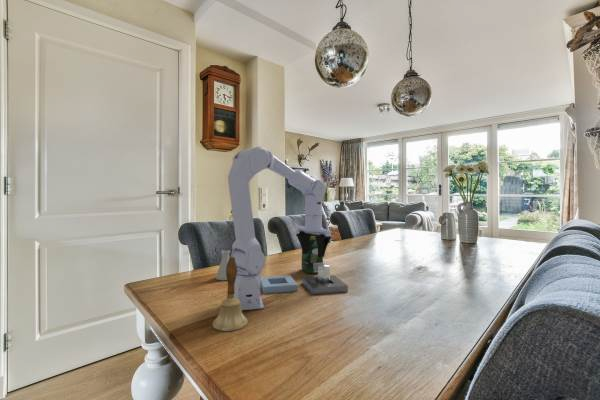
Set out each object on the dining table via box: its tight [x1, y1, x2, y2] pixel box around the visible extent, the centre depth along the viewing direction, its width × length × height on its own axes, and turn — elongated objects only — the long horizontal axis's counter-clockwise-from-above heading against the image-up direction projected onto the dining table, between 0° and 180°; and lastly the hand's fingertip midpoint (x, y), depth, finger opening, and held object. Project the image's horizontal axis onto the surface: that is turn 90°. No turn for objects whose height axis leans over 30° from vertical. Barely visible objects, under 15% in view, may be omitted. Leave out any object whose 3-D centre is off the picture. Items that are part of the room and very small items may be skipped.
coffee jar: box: [301, 232, 324, 275], centre depth 116 cm, size 10×8×19 cm
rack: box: [260, 274, 299, 294], centre depth 96 cm, size 11×11×2 cm
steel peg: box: [317, 263, 331, 284], centre depth 96 cm, size 4×4×8 cm
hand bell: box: [211, 256, 249, 332], centre depth 69 cm, size 8×8×16 cm
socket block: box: [301, 274, 349, 296], centre depth 96 cm, size 12×12×2 cm
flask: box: [215, 250, 231, 281], centre depth 105 cm, size 7×7×10 cm
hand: (313, 255), depth 97 cm, fingers open, 7 cm apart
